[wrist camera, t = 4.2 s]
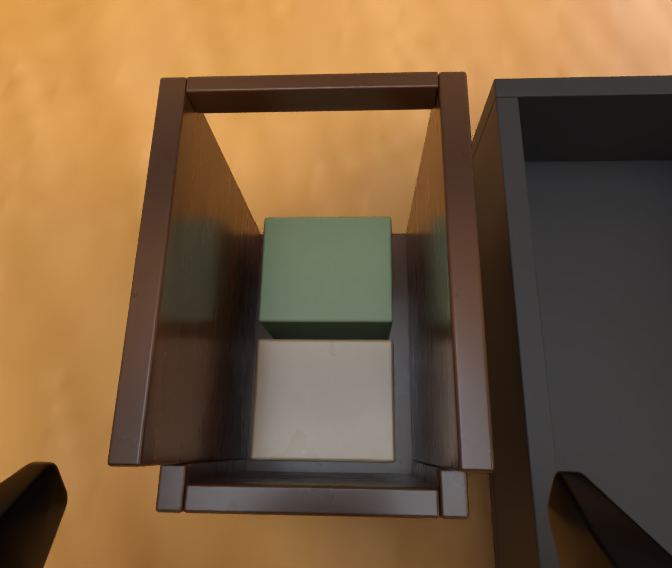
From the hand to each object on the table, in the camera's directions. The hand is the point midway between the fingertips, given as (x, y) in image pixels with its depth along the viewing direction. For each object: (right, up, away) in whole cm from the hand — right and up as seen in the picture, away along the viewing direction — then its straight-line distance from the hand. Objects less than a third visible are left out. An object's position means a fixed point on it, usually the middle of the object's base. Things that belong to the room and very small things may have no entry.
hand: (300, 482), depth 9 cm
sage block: (+1, +3, +9) cm, 10 cm away
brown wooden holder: (+1, +1, +9) cm, 10 cm away
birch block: (0, -1, +8) cm, 8 cm away
